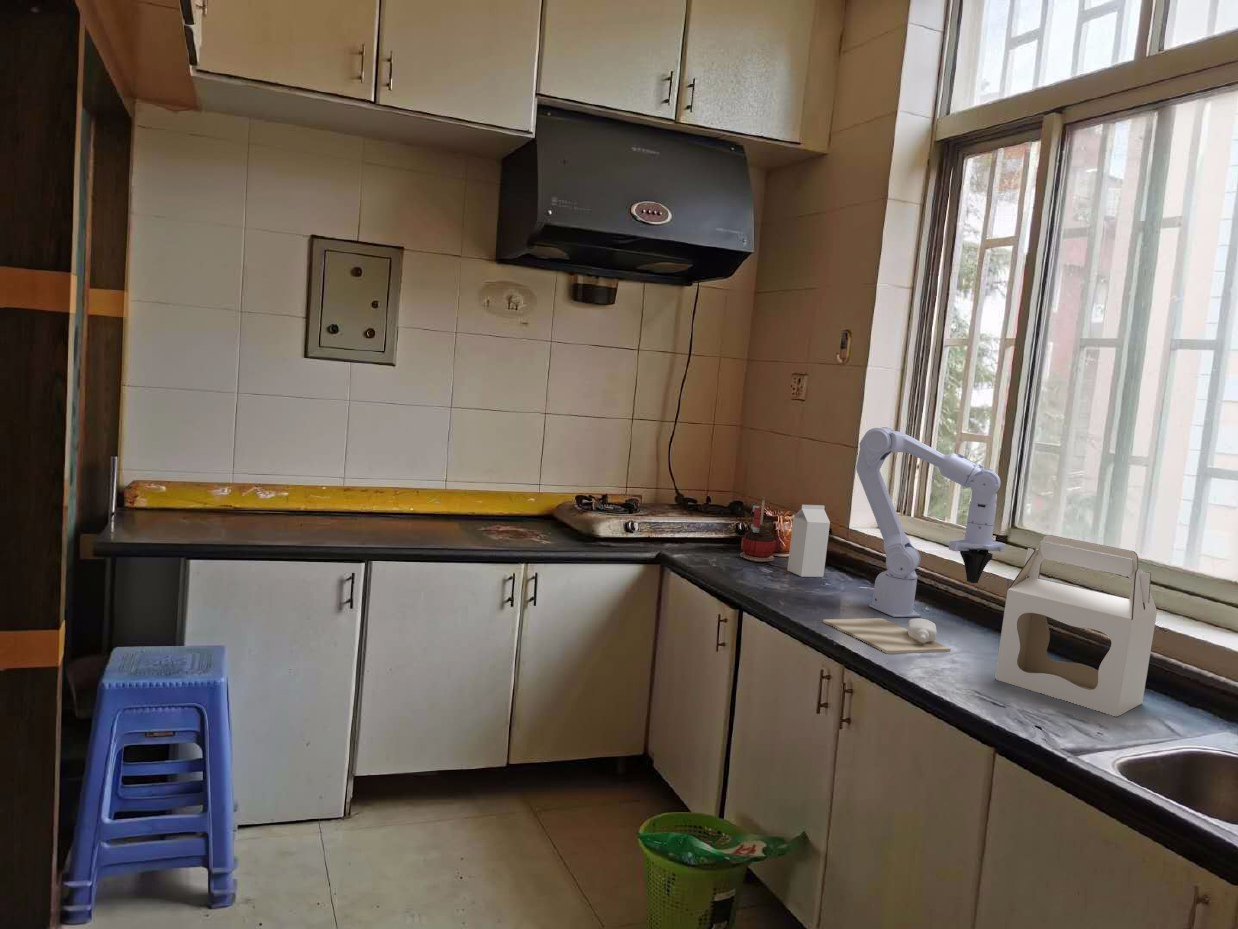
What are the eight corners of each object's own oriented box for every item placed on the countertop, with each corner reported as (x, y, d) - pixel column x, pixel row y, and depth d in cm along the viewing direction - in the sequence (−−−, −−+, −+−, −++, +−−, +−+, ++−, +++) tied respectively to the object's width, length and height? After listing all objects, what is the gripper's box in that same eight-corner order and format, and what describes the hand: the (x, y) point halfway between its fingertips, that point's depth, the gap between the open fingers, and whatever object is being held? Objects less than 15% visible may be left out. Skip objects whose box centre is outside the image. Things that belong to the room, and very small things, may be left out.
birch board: (822, 622, 210) (823, 619, 210) (881, 620, 217) (882, 618, 217) (887, 653, 190) (887, 651, 190) (950, 651, 197) (950, 648, 197)
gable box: (992, 679, 180) (1013, 532, 177) (1022, 668, 190) (1042, 529, 187) (1118, 718, 165) (1143, 558, 162) (1143, 704, 174) (1168, 553, 171)
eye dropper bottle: (926, 642, 206) (927, 655, 195) (904, 625, 207) (904, 638, 196) (939, 626, 205) (941, 639, 194) (917, 610, 206) (918, 621, 195)
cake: (775, 565, 268) (783, 502, 267) (742, 562, 269) (749, 498, 267) (770, 557, 279) (777, 496, 277) (738, 554, 279) (745, 493, 277)
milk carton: (823, 577, 258) (832, 507, 256) (800, 577, 256) (809, 507, 254) (809, 571, 265) (817, 503, 263) (786, 571, 262) (795, 502, 260)
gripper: (968, 526, 210) (959, 586, 211) (1018, 527, 215) (1009, 586, 217) (945, 519, 216) (937, 578, 218) (994, 521, 222) (986, 578, 223)
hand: (972, 582), depth 218 cm, fingers closed
